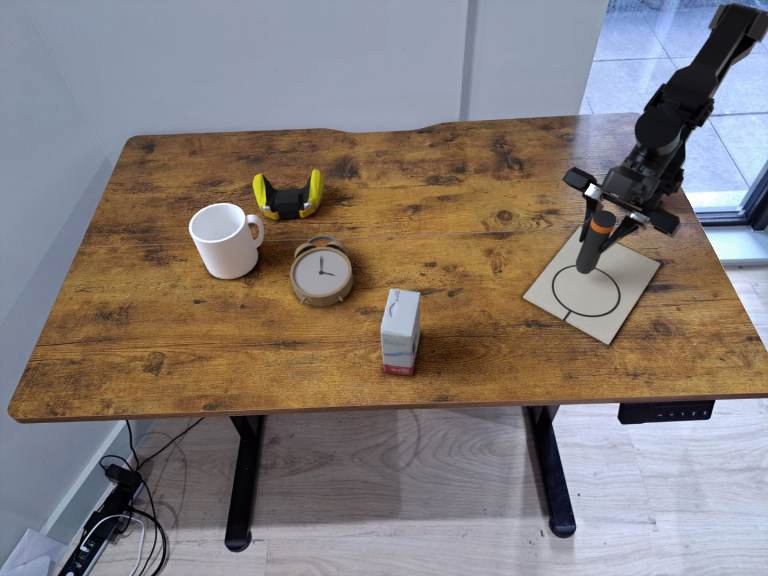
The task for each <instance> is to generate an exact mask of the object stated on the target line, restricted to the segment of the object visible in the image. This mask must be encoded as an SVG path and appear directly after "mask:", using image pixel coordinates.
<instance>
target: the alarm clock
mask: <svg viewBox="0 0 768 576" xmlns="http://www.w3.org/2000/svg"><path fill="white" fill-rule="evenodd" d="M320 240H321V241H322V240H328V241H330V242H328V243H327V244H326V246H319V247H318V246H317V245H315V244H314V242H316V241H320ZM349 257H350V251H349V248H348V246H347V245H346V244H345V243H344V242H341V241H338V240H337V239H336V238H334V237H333V236H331V235H326V234H321V235H316V236H313V237H311V238H310V239H309V240H308V241H307V242H305V243H302V244H300V245H299V246H298V247H297V248H296V249H295V251H294V261H293V263H292V264H291V266H290V270H289V278H290V283H291V285H292V289H293V291H294V293H295V295H296V297H297V298H298V299H299V300H300V305H303V304H304V303H305V304H307V305H310V306H312V307H327V306H332V305H334V304H337V303H338V302H340V301H341V302H343V301H344V298H345V297H347V295H348V294H349V292H350V290H351V289H352V287H353V284H354V283H353V282H354V276H353V268H352V264H351V260H350V259H349Z"/></svg>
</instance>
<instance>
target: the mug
mask: <svg viewBox="0 0 768 576" xmlns="http://www.w3.org/2000/svg"><path fill="white" fill-rule="evenodd" d="M249 224H255V225H256V226H257V228H258V235H257V237H256V238H255V239H254V238H253V234H252V231H251V229H250V225H249ZM188 230H189V231H188V232H189V234H190V236H191V238H192V240H193V242H194V245H195V246H196V248H197V251H198V253H199V255H200V257H201V259H202V261H203V263H204V265H205V267H206V269H207V271H208V272H209V274H210V275H212V276H213V277H215V278H218V279H222V280H234V279H237V278H241V277H243V276H245V275H247V274H248V273H249V272H251V271H252V270H253V268H254V267H255V266H256V264H257V262H258V260H259V251H258V247H260V246H261V245H262V243H263V241H264V238H265V229H264V224H263V221H262V219H261V218H260V217H259V216H258V215H257V214H247V215H246V214H245V212H244V210H242V208H241V207H239V206H237V205H236V204H233V203H230V202H229V203H227V202H219V203H214V204H210V205H207V206H206V207H203V208H201V209H200V210H199V211H197V212H196V213H195V214H194V215H193V216H192V218H191V219H190V221H189V225H188Z"/></svg>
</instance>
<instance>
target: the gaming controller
mask: <svg viewBox="0 0 768 576" xmlns="http://www.w3.org/2000/svg"><path fill="white" fill-rule="evenodd" d="M325 188H326V182H325V176H324V174H323V173H322V171H320V170H318V169H317V168H314V169H313V170H312V171H311V173H310V175H309V177H308V180H307V181H306V185H305V186H303V187H302V188H290V189H276V188H275V187H274V186H273V185H272V184H271V182H270V181H269V180H268V178H267V177H266V176H265V175H264V174H263V173H259V174H256V175H254V177H253V181H252V189H253V192H254V195H255V199H256V203H257V205H258V208H259V210H260V212H261V214H262V215H264V217H267V218H269V219H272V220H275V221H277V220H280V219H281V220H282V219H292V218H293V219H294V218H295V219H296V218H302V219H303V218H306V217H308V216H310V215H312V214H313V213H315V212H316V211H317V210H318V209H319V206H320V204H321V202H322V200H323V197H324V192H325Z"/></svg>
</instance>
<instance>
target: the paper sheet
mask: <svg viewBox="0 0 768 576" xmlns="http://www.w3.org/2000/svg"><path fill="white" fill-rule="evenodd" d="M582 227H583V226H579V227H578V228H577V229H576V230H575V231H574V233H573V234H572V235H571V236H570V238H569V239H568V240H567V241H566V243H565V244H564V245H563V246H562V247H561V249H560V250H559V252H557V254H556V255H555V256H554V257H553V259H552V260H551V261H550V263H548V265H547V266H546V267H545V269H543V271H542V273H541V274H540V275H539V276H538V278H536V280H535V281H534V282H533V283H532V285H531V286H530V287H529V288H528V290H527V291H526V292H525V293H524V295H523V296H522V299H524V300H526V301H528V302H530V303H531V304H533V305H535V306H536V307H539V308H540V309H542V310H544V311H545V312H547V313H549V314H551V315H553V316H555V317H556V318H557V319H560V320H562V321H563V322H565V323H567V324H569V325H570V326H573V327H574V328H576V329H578V330H580V331H582V332H583V333H585V334H586V335H589V336H591V337H593V338H594V339H596V340H598V341H600V342H601V343H603V344H605V345H607V346H609V345H610V343H612V341H613V339H614V338H615V336H616V335H617V333H618V331H619V330H620V328H621V327H622V325H623V324H624V322H625V321H626V319H627V317H628V316H629V314H630V312H631V311H632V310H633V307H634V306H635V305H636V303H637V301H638V300H639V299H640V297H641V296H642V294H643V292H644V291H645V289H646V287H647V286H648V284H649V283H650V282H651V280H652V278H653V277H654V275H655V274H656V272H657V271H658V269H659V267H660V266H661V262H659V261H656V260H654V259H652V258H650V257H648V256H646V255H643V254H641V253H639V252H637V251H635V250H633V249H630V248H628V247H626V246H624V245H622V244H619V243H618V242H617V243H616V244H614V245H613V246H612V247H610V248H609V249H608V250H606V251H605V252H604V253H602V254H601V256H600V259H599V261H598V263H597V265H596V267H595V269H594V270H592V271H591V272H590V273H589V274H582V273H580V272H578V271H577V269H576V259H577V257H578V254H579V252H580V249H581V247H582V244H583V242H584V241H583V242H582V243H581V242H579V238H580V235H581V231H582Z"/></svg>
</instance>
